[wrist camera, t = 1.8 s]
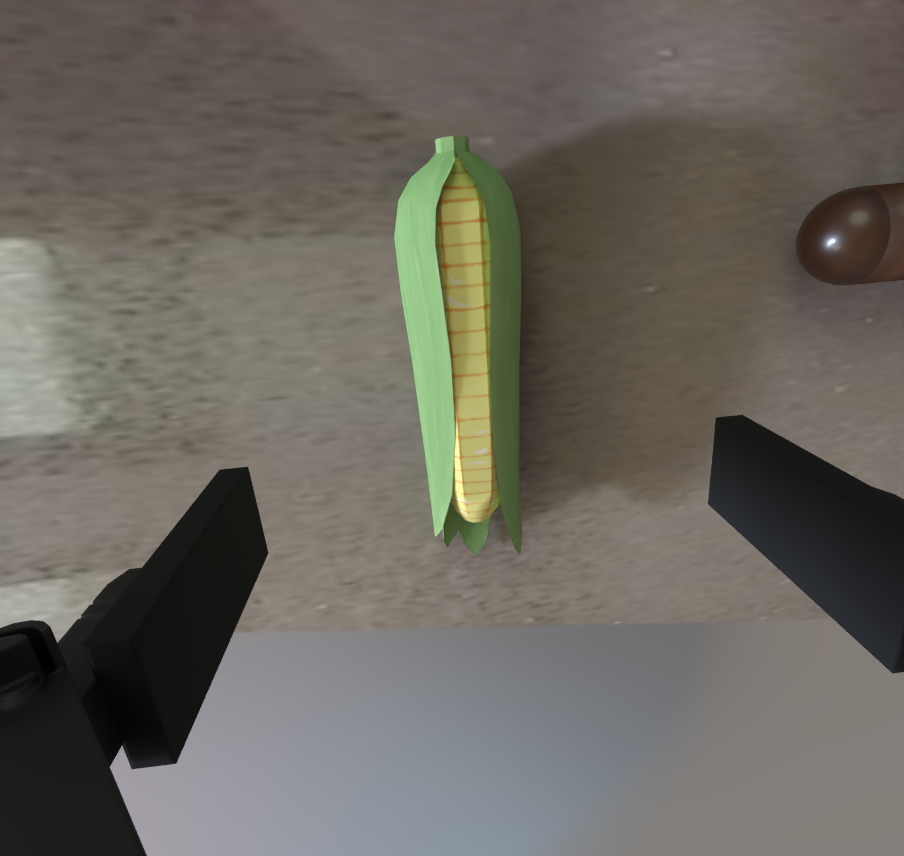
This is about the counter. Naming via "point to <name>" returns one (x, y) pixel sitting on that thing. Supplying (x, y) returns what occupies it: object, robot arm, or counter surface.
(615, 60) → the counter surface
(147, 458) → the counter surface
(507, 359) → the edible corn
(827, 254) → the dark brown capsule
